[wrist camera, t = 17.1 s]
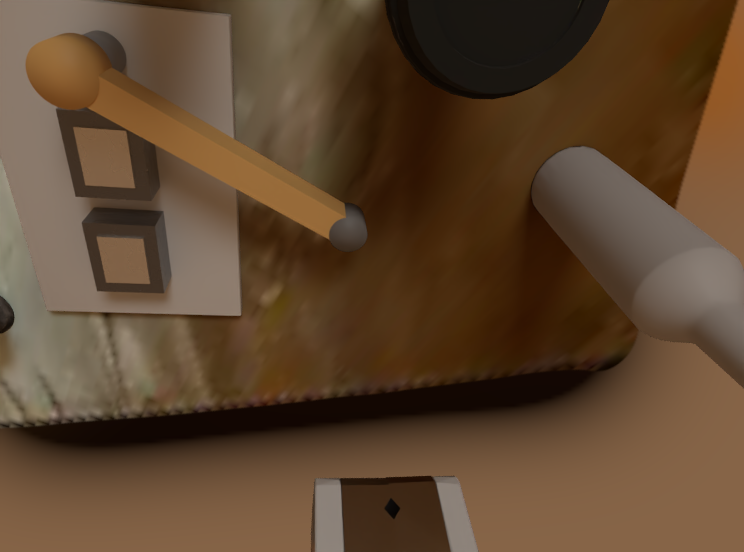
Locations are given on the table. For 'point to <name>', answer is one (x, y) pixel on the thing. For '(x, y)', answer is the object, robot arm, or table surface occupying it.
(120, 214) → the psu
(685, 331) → the bottle
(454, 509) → the robot arm
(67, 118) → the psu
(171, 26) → the board
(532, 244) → the table surface
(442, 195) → the table surface
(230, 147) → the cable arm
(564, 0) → the coffee cup
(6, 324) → the dark grey tall piece
